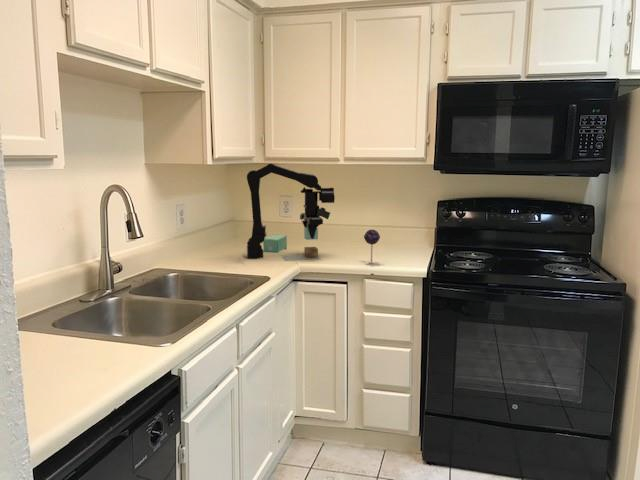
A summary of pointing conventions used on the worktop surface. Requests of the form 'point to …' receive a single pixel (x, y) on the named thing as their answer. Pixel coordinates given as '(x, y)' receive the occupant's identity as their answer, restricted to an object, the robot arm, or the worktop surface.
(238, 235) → the worktop surface
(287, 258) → the board
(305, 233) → the teal block
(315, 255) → the walnut base
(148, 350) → the worktop surface
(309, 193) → the robot arm
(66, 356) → the worktop surface
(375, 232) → the lollipop
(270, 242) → the box
